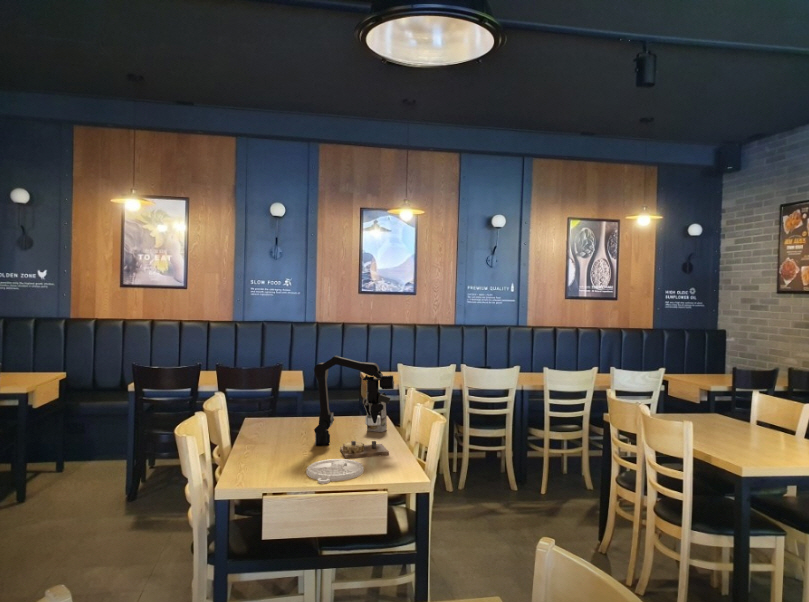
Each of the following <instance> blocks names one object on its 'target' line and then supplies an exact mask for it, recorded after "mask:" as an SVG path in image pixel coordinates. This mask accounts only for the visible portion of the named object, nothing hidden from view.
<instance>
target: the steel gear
mask: <svg viewBox="0 0 809 602" xmlns="http://www.w3.org/2000/svg"><path fill="white" fill-rule="evenodd" d="M364 423H365V424H364V425H366V426H367V425H369V426H370V425H372V426H374V425H380V424H381V416H378V417H377V421H376V423H373V420H372V417H371V415H369V416H367V415H366V416H365V420H364Z"/></svg>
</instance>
